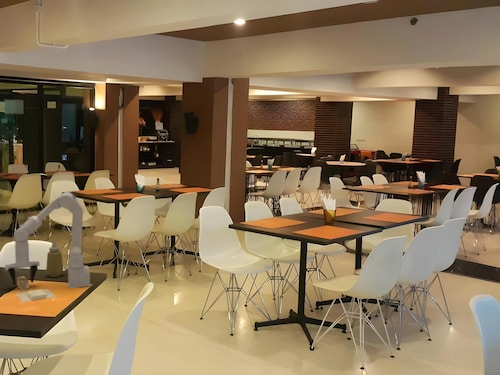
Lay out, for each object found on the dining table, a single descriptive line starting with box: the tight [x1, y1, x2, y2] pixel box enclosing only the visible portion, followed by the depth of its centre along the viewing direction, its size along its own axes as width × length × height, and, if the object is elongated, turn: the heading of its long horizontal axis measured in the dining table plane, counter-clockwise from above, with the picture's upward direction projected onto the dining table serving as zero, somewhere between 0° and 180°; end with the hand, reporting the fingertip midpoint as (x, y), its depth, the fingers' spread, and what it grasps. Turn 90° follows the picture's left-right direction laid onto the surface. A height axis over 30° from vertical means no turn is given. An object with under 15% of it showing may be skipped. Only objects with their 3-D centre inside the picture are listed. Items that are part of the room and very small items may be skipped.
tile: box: [26, 288, 48, 301], centre depth 243 cm, size 6×2×9 cm
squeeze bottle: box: [46, 239, 64, 278], centre depth 277 cm, size 8×8×18 cm
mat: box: [15, 288, 57, 303], centre depth 246 cm, size 14×14×1 cm
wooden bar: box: [16, 276, 30, 292], centre depth 257 cm, size 3×10×4 cm, turn 34°
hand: (23, 283), depth 257 cm, fingers open, 7 cm apart
